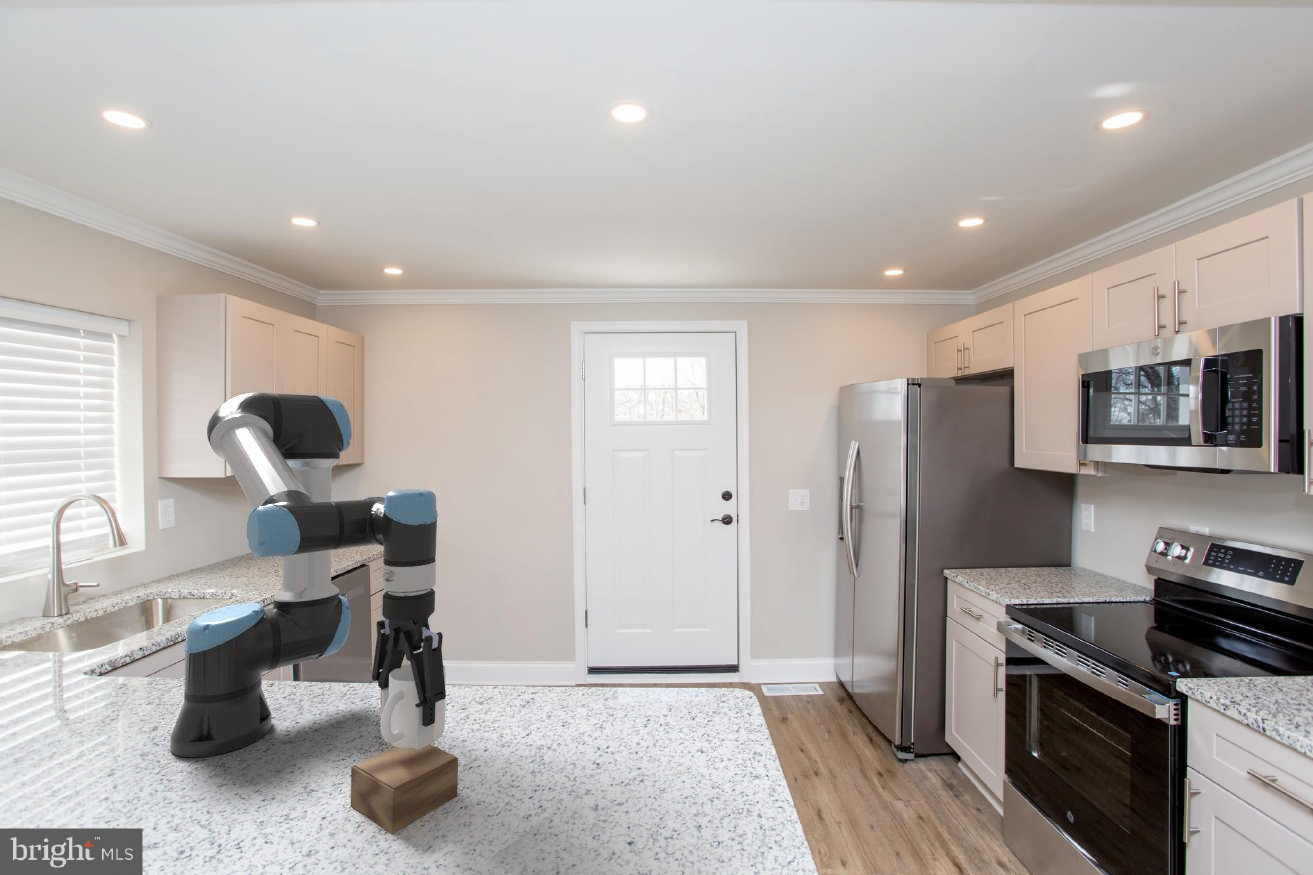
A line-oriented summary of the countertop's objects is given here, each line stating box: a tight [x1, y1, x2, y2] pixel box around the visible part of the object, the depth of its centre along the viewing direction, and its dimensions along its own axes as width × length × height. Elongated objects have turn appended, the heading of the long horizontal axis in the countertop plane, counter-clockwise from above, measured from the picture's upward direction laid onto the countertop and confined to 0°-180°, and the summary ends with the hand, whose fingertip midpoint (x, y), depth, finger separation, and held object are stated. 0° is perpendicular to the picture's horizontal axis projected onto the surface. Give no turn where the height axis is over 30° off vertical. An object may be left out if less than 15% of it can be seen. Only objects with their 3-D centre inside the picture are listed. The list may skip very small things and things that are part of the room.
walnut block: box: [350, 743, 459, 835], centre depth 91 cm, size 11×11×6 cm
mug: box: [380, 662, 447, 749], centre depth 90 cm, size 12×8×10 cm
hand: (406, 736), depth 91 cm, fingers closed on mug, 8 cm apart
